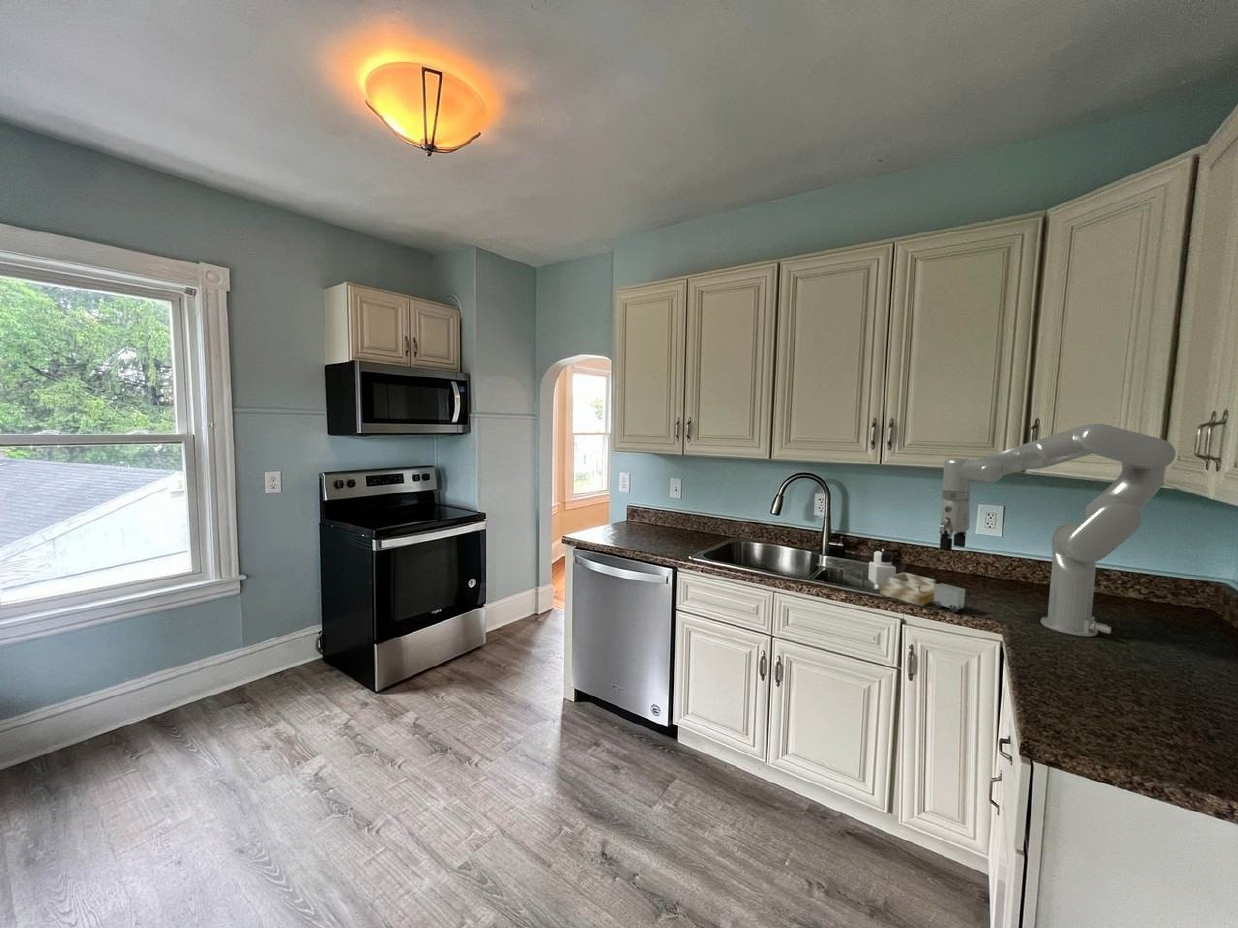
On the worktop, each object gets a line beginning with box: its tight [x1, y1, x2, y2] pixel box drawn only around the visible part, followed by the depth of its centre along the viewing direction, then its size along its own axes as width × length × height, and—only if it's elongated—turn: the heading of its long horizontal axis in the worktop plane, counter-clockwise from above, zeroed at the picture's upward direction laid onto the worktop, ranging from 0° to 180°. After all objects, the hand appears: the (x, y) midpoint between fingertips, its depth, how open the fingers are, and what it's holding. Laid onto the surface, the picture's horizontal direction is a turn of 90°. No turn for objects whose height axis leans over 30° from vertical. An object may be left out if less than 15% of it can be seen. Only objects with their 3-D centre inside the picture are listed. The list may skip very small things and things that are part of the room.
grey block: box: [933, 582, 966, 613], centre depth 163 cm, size 7×5×7 cm
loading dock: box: [879, 571, 939, 607], centre depth 176 cm, size 14×20×6 cm
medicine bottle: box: [868, 550, 897, 586], centre depth 190 cm, size 7×7×12 cm
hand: (952, 548), depth 162 cm, fingers open, 9 cm apart
